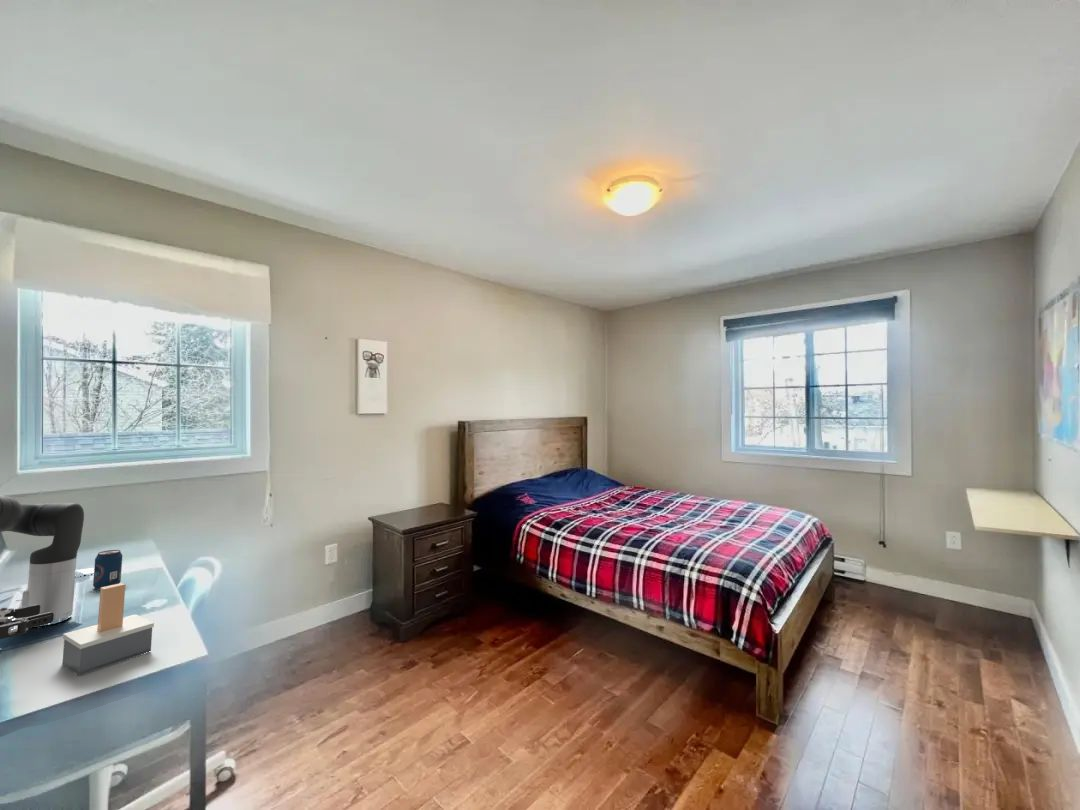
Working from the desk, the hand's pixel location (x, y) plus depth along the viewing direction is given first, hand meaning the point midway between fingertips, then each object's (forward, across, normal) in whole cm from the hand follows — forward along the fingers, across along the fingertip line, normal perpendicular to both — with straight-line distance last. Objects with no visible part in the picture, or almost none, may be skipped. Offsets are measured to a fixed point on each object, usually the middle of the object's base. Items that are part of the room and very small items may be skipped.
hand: (46, 612), depth 100 cm
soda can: (+31, +63, +14) cm, 72 cm away
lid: (+11, 0, +9) cm, 15 cm away
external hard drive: (+33, +88, +14) cm, 95 cm away
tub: (+11, 0, +14) cm, 18 cm away
